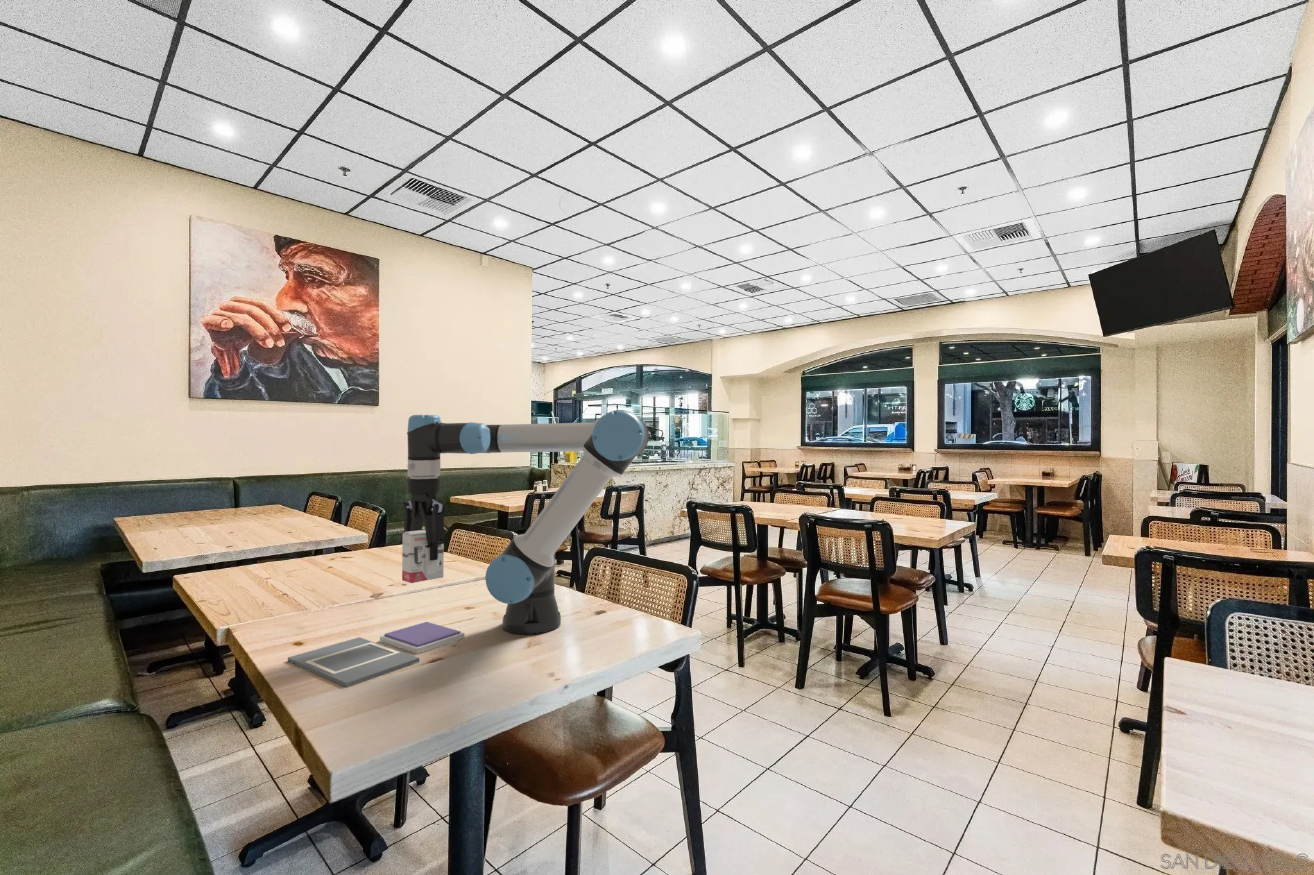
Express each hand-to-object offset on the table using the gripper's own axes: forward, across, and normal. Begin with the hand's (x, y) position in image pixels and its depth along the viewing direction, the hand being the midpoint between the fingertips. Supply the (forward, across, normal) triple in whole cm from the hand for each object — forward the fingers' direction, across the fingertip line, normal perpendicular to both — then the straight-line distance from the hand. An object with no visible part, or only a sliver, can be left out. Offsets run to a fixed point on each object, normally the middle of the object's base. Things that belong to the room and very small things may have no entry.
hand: (423, 571), depth 139 cm
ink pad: (+17, 0, 0) cm, 17 cm away
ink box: (+2, 0, 0) cm, 2 cm away
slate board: (+17, 0, -17) cm, 24 cm away
